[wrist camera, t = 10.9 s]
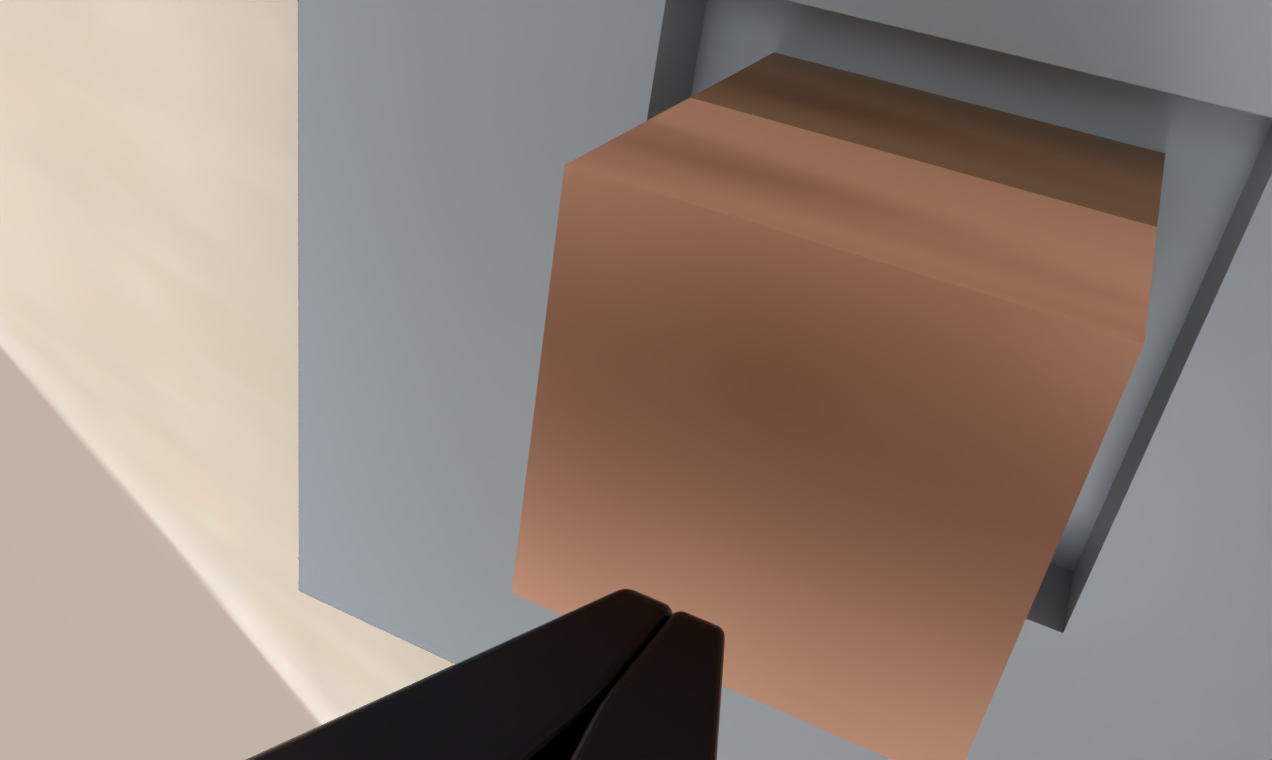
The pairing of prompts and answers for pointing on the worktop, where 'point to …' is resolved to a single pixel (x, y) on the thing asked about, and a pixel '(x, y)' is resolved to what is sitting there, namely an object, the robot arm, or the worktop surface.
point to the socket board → (519, 286)
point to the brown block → (835, 384)
